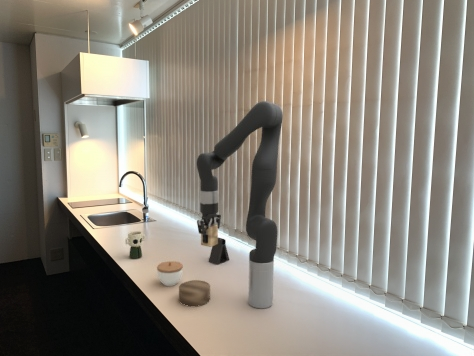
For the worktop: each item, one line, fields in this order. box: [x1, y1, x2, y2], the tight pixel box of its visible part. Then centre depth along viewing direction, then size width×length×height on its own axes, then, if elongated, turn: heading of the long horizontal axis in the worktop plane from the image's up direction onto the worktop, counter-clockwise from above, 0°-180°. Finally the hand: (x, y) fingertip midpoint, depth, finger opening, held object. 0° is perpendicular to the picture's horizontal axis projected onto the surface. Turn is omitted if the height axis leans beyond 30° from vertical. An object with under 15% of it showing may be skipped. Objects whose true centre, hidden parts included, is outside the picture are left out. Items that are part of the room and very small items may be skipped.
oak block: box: [200, 225, 219, 248], centre depth 146 cm, size 5×5×8 cm
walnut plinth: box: [178, 279, 211, 307], centre depth 136 cm, size 12×12×5 cm
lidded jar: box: [156, 260, 184, 287], centre depth 150 cm, size 11×11×9 cm
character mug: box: [125, 230, 146, 259], centre depth 180 cm, size 11×7×13 cm, turn 136°
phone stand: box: [208, 237, 230, 266], centre depth 176 cm, size 9×6×12 cm, turn 138°
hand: (209, 241), depth 146 cm, fingers closed on oak block, 5 cm apart
